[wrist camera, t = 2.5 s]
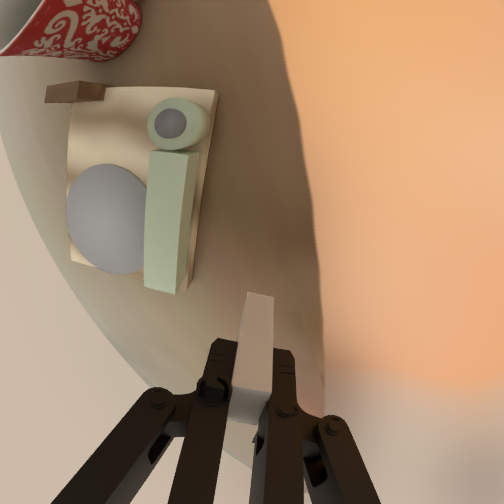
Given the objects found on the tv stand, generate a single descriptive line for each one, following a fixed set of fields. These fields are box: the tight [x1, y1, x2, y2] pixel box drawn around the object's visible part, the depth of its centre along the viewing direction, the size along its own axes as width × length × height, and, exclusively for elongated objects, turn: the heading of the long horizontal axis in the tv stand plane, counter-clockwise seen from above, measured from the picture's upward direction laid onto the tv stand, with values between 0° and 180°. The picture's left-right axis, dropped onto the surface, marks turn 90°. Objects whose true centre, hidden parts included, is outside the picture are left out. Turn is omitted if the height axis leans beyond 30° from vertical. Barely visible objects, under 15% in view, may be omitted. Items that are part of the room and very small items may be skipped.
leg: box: [144, 97, 211, 294], centre depth 19 cm, size 15×4×4 cm, turn 169°
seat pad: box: [66, 164, 147, 275], centre depth 23 cm, size 11×11×1 cm
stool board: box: [45, 81, 219, 291], centre depth 21 cm, size 18×14×6 cm
